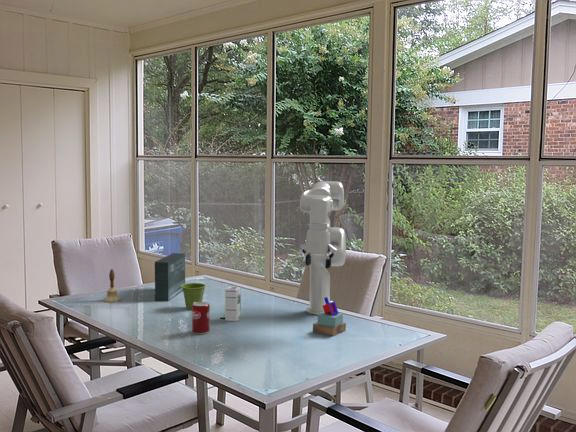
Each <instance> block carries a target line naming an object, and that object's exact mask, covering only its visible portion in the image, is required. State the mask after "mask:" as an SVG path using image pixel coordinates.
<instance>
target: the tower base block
mask: <svg viewBox="0 0 576 432" xmlns="http://www.w3.org/2000/svg"><path fill="white" fill-rule="evenodd" d="M346 325H347V322H345V321H343V323H341V324H340V325H338V326H336V327H331V326H324V325H318V321H317V322H315V323H312V333H316V334H320V335H324V334H325V336H329V335H330V337H334V336H335V337H336V336H338V335H340V334H343V333H344V332H346V331H347V326H346ZM339 333H340V334H339ZM337 334H338V335H337Z"/></svg>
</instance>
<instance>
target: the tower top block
mask: <svg viewBox="0 0 576 432" xmlns="http://www.w3.org/2000/svg"><path fill="white" fill-rule="evenodd" d="M338 313H339V314H336V315H332V316H331V313H327V314H325V312H323V313H321V314H319V315H317V322H318V325H324V326H331V327H336V326H338V325H340V324H341V323H343V322H344V313H342V312H338Z"/></svg>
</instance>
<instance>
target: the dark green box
mask: <svg viewBox="0 0 576 432" xmlns="http://www.w3.org/2000/svg"><path fill="white" fill-rule="evenodd" d="M183 284H186V253H180V252H179V253H178V252H177V253H176V252H173V253H170V254H169V255H166V256H165V257H162V258H160V259H158V260H156V261H154V302H170V301H171V300H172V299H174V298H175V297H177V296H178V295H180V294H181V293H182V292H183V289H182V287H181V285H183Z"/></svg>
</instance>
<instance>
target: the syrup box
mask: <svg viewBox="0 0 576 432" xmlns="http://www.w3.org/2000/svg"><path fill="white" fill-rule="evenodd" d="M241 296H242V295H241V286H228V287H226V288H225V289H224V310H225V312H224V313H225V314H224V316H225V321H229V322H238V321H239V320H241V318H242V303H241V302H242V298H241Z"/></svg>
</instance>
